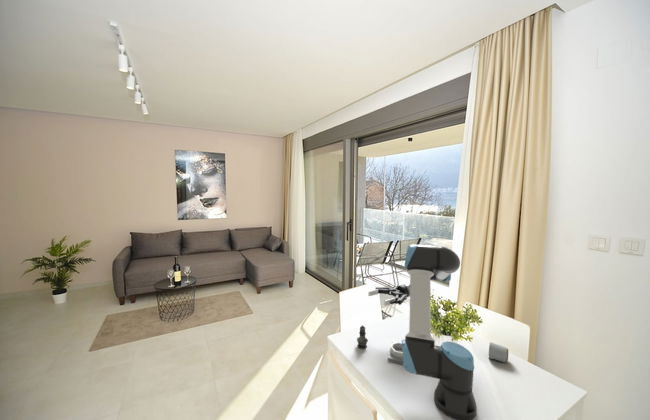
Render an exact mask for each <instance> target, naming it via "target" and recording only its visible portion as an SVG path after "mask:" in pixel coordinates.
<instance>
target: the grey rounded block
mask: <svg viewBox="0 0 650 420" xmlns="http://www.w3.org/2000/svg"><path fill="white" fill-rule="evenodd" d="M488 356H489V357H488V358H489V359H490V360H491V359H492V360H494V359H495V361H497V360H498V362H501V361H502V363H505V362H506V363H508V362H509V361H508V360H509V348H507V347H506V346H503V345H501V344H497V343H494V342H491V341H489V347H488Z"/></svg>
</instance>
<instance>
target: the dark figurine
mask: <svg viewBox="0 0 650 420" xmlns="http://www.w3.org/2000/svg"><path fill="white" fill-rule="evenodd" d="M358 334H359V337H357V338H356V342H357V345H356V347H357V348H358V349H360V350H365V349H367V348H368V345H367V343H368V341H369V339H368V338H367V337H366V334H367V332H366V327H365V326H364V325H363V324H362V325H361V326H360V327H359V333H358Z"/></svg>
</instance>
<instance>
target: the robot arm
mask: <svg viewBox="0 0 650 420" xmlns="http://www.w3.org/2000/svg"><path fill="white" fill-rule="evenodd" d="M460 266H461V259H460V257H459V256H458V254H457V253H456V252H455V251H454V250H453V249H451V248H448V247H446V246H441V245H439V246H438V245H426V244H409V245H408V246H407V248H406V253H405V259H404V267H403V268H404V269H406V270H407V274H408V275H409V276H410V282H408V283H405V284H400V285H397V286H396V287H395V288H393V287H392V286H379V287H378V286H376V287H375V288H374V289H372V290H369V291H368V297H371V296H377V295H378V294H381V295H382V294H383V295H388V296H393V297H392V298H389V299H386V300H384V301H383V302H384V304H383V305H384V307H386V306H390V305H393V304H398V305H399V306H401V305H402V303H404V302H405V300H408V298H409V319H408V320H409V325H408V329H409V330H408V331H409V332H408V333H406V334H405V336H404V338H405V339H402V340H401V343H402V351H403V362H404V365H403V368H404V370H405V371H406V372H408V373H410V374H414V375H416V376H418V375H419V376H421V377H422V376H424V377H429V378H433V379H438V382H437V386H436V387H435V389H434V392H433V401H434V404H435V405H436V407H437V408H438V409H439V411H441V412H442V413H443V414H444V415H446V416H447V417H450V418H451V419H454V420H473V419H475V417H476V415H477V403H476V399H475V396H474V393H473V385H474V383H473V382H474V369H475V364H474V363H475V362H474V361H475V360H474V356H473V354H472V352H471V351H470V350H469V349H468V348H466V347H465V346H463V345H461V344H459V343H456V342H453V341H448V340H447V341H443V342H442V343H441V344H440V345H436V343H435V339H434V337H432V334H431V333H432V331H431V321H432V320H431V318H432V317H431V281H436V282H437V281H438V282H443V283H445V282H448V283H449V282H450V281H451V279H452V274H453V273H455V272H457V271H458V270H459V268H460ZM394 297H395V298H394Z"/></svg>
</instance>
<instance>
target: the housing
mask: <svg viewBox="0 0 650 420" xmlns="http://www.w3.org/2000/svg"><path fill="white" fill-rule="evenodd" d="M387 362H391V363H396V364H399V365H403V366H404V362H403V351H402V341H395V342H392V343H391V344H390V347H389V353H388V356H387Z"/></svg>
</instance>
